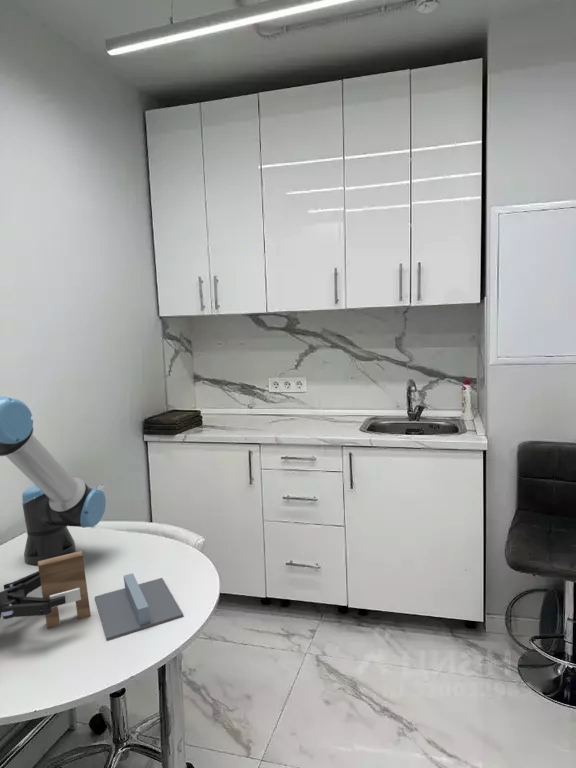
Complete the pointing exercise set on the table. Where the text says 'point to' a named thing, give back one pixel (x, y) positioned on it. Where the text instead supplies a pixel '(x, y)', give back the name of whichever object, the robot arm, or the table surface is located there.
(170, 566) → the table surface
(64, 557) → the brown notched block
